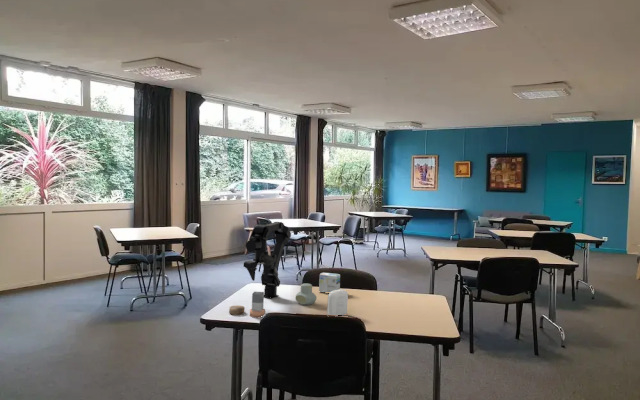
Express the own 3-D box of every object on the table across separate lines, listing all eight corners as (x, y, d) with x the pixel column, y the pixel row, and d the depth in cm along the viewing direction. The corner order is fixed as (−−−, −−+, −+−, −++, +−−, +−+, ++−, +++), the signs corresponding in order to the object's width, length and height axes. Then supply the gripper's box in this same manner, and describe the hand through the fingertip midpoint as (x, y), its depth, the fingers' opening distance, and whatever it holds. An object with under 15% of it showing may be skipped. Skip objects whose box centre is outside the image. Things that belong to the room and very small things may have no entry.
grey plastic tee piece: (292, 303, 225) (293, 284, 225) (302, 300, 232) (303, 281, 232) (309, 307, 219) (309, 287, 218) (318, 304, 225) (319, 285, 225)
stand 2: (257, 311, 208) (257, 306, 208) (268, 315, 204) (268, 309, 204) (246, 315, 202) (246, 310, 202) (257, 318, 198) (257, 313, 198)
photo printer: (343, 312, 213) (344, 287, 212) (348, 315, 209) (349, 289, 208) (325, 315, 207) (326, 289, 206) (330, 318, 203) (331, 292, 203)
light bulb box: (339, 292, 251) (340, 274, 250) (336, 295, 245) (336, 276, 244) (322, 290, 255) (323, 271, 254) (318, 292, 248) (319, 274, 248)
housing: (253, 308, 205) (254, 291, 205) (263, 308, 205) (263, 292, 205) (251, 311, 201) (252, 294, 201) (261, 311, 201) (261, 294, 200)
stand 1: (237, 309, 210) (237, 304, 210) (247, 312, 206) (247, 307, 206) (226, 312, 205) (226, 307, 205) (236, 316, 201) (236, 310, 200)
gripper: (259, 253, 211) (258, 285, 212) (284, 249, 226) (283, 278, 227) (243, 250, 218) (242, 281, 218) (268, 246, 233) (267, 275, 233)
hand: (259, 279), depth 224 cm, fingers open, 9 cm apart
